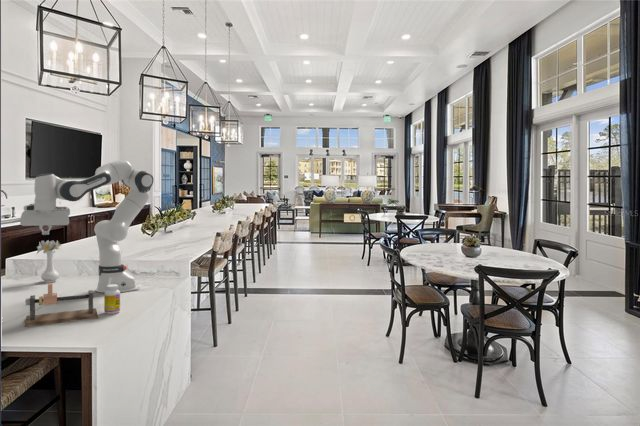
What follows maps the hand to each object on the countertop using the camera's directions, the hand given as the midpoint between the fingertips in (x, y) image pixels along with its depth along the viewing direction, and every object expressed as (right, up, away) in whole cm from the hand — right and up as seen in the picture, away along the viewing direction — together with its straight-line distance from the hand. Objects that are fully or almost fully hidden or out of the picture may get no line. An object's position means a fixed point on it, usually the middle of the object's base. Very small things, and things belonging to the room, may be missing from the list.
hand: (45, 234), depth 209 cm
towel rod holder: (+21, -36, -21) cm, 47 cm away
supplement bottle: (+37, -36, -9) cm, 53 cm away
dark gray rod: (+20, -29, -22) cm, 41 cm away
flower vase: (-27, -31, +45) cm, 61 cm away
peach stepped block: (+17, -29, -23) cm, 41 cm away
